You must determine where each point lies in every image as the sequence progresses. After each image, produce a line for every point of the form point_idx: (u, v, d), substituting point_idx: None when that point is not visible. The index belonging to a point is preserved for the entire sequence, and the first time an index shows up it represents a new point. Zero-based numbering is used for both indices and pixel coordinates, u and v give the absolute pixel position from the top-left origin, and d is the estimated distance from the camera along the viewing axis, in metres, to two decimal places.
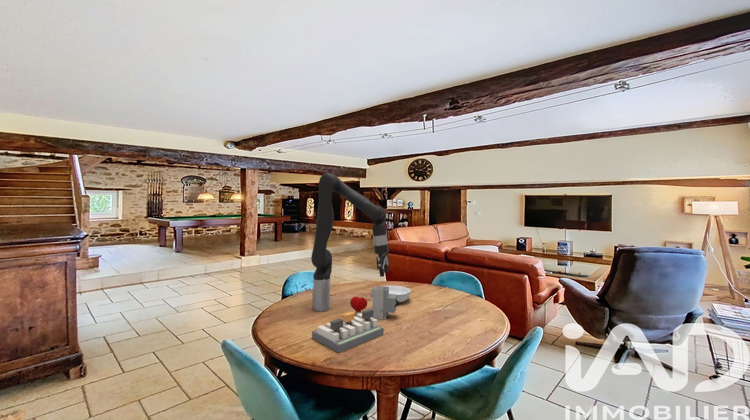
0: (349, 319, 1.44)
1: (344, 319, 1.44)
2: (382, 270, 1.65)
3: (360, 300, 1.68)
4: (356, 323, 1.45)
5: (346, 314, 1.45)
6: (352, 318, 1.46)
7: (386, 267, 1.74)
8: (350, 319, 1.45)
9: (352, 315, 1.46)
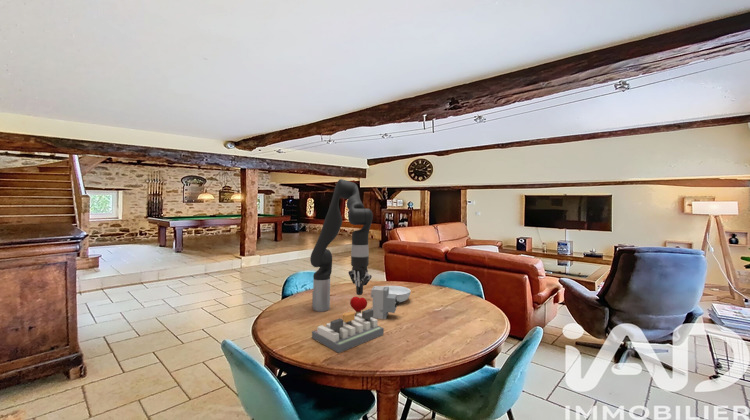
0: (349, 319, 1.44)
1: (344, 319, 1.44)
2: (356, 287, 1.40)
3: (360, 300, 1.68)
4: (356, 323, 1.45)
5: (346, 314, 1.45)
6: (352, 318, 1.46)
7: None
8: (350, 319, 1.45)
9: (352, 315, 1.46)
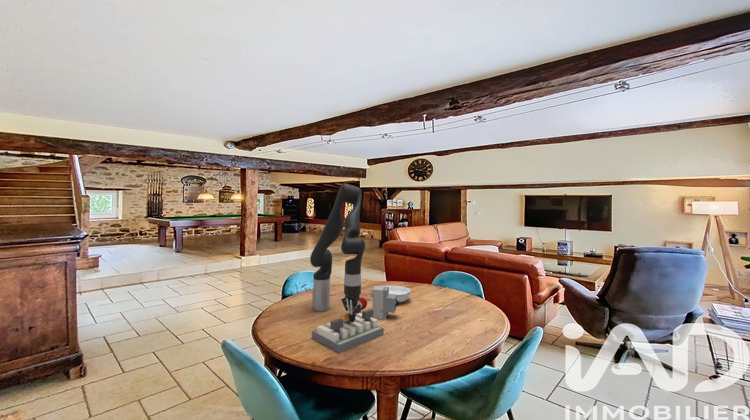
0: (347, 318, 1.45)
1: (342, 318, 1.45)
2: (349, 314, 1.44)
3: (360, 300, 1.68)
4: (356, 323, 1.45)
5: (344, 313, 1.45)
6: None
7: None
8: (348, 318, 1.46)
9: None
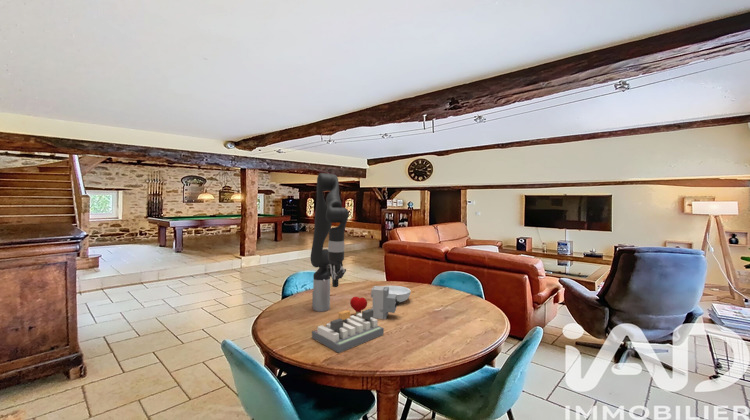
0: (345, 317, 1.47)
1: (340, 317, 1.46)
2: (332, 279, 1.52)
3: (360, 300, 1.68)
4: (356, 323, 1.45)
5: (342, 312, 1.47)
6: (348, 316, 1.48)
7: None
8: (346, 317, 1.47)
9: (348, 313, 1.48)
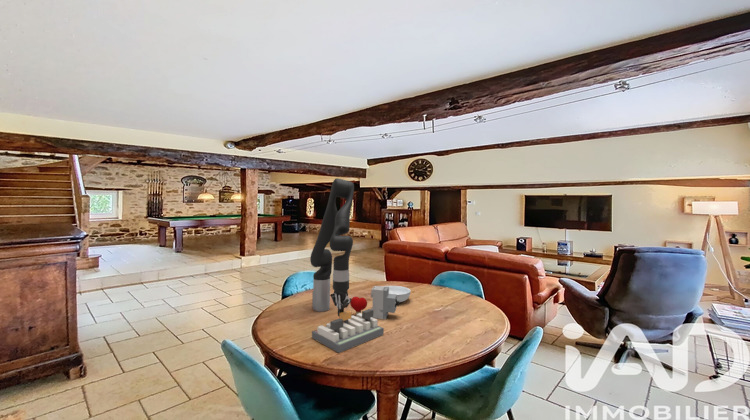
0: (346, 318, 1.46)
1: (341, 318, 1.45)
2: (338, 309, 1.50)
3: (360, 300, 1.68)
4: (356, 323, 1.45)
5: (343, 313, 1.46)
6: (349, 317, 1.47)
7: None
8: (347, 318, 1.46)
9: (349, 314, 1.47)
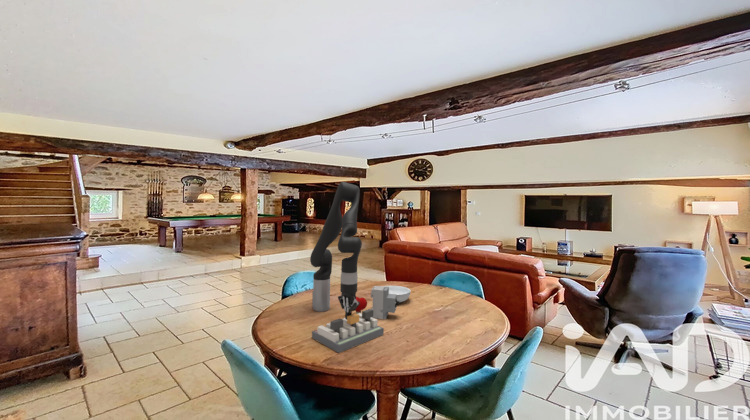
0: (354, 321, 1.42)
1: (349, 321, 1.41)
2: (345, 312, 1.46)
3: (360, 300, 1.68)
4: (356, 323, 1.45)
5: (351, 316, 1.42)
6: (357, 320, 1.43)
7: None
8: (355, 321, 1.43)
9: (357, 317, 1.43)
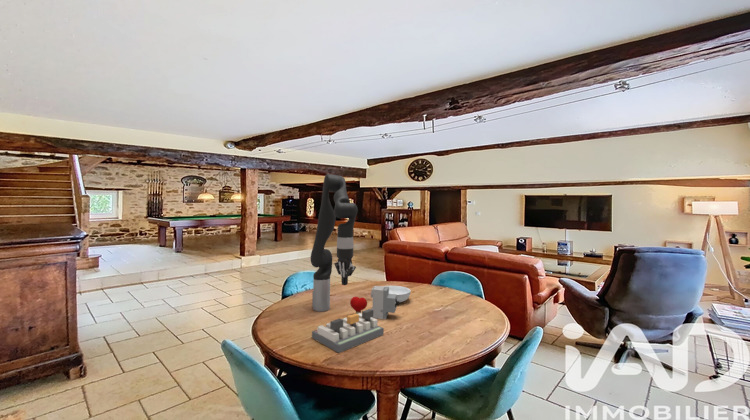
0: (354, 321, 1.42)
1: (348, 321, 1.42)
2: None
3: (360, 300, 1.68)
4: (356, 323, 1.45)
5: (350, 316, 1.42)
6: (357, 320, 1.44)
7: None
8: (355, 321, 1.43)
9: (357, 317, 1.43)
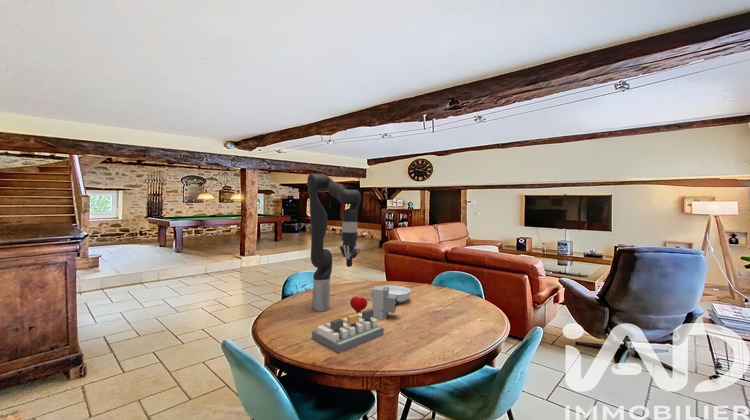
0: (354, 321, 1.42)
1: (348, 321, 1.42)
2: (346, 259, 1.57)
3: (360, 300, 1.68)
4: (356, 323, 1.45)
5: (350, 316, 1.42)
6: (357, 320, 1.44)
7: None
8: (355, 321, 1.43)
9: (357, 317, 1.43)
